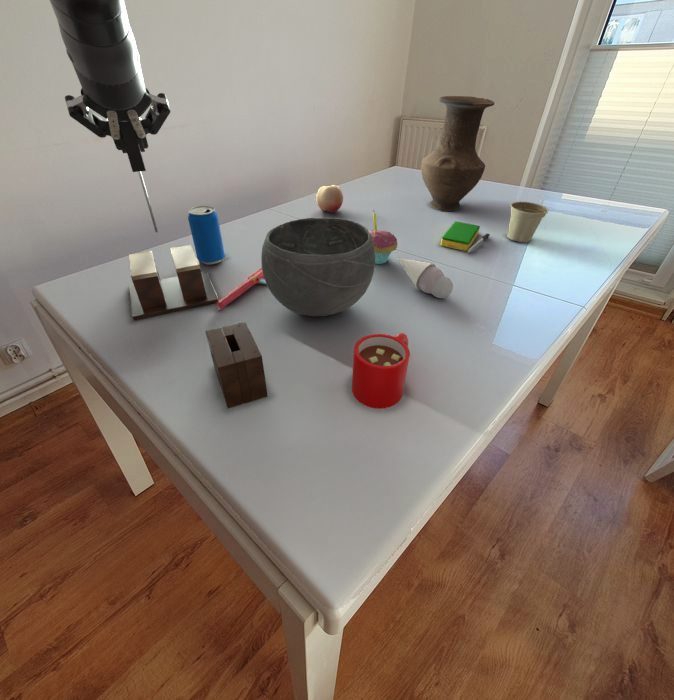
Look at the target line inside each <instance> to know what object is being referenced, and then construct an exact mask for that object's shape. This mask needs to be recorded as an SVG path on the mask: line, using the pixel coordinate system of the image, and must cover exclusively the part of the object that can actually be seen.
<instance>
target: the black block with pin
mask: <svg viewBox="0 0 674 700" xmlns="http://www.w3.org/2000/svg"><path fill="white" fill-rule="evenodd" d="M118 124H119V128H120V131H121V135H122V138H123V141H124V145H125V148H126V151H127V153H126V155H127V157H128V161H129V164H130V168H131V171H132V173H138V176H139V181H140V183H141V186H142V191H143V193H144V197H145V201H146V203H147V207H148V212H149V214H150V217H151V221H152V224H153V227H154V228H153V229H154V233H159V230H158V226H157V222H156V220H155V219H156V218H155V215H154V213H153V209H152V205H151V201H150V198H149V195H148V191H147V187H146V185H145V181H144V177H143V174H142V172H147V169H146V166H145V162H144V158H143V155H142V152H141V151H140V147H139V144H138V140H137V136H136V133H135V130H134V128H133V125H132V123H131V122H130V121H122V122H118Z"/></svg>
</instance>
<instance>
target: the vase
mask: <svg viewBox="0 0 674 700" xmlns="http://www.w3.org/2000/svg"><path fill="white" fill-rule="evenodd" d="M439 102H440V103H442V104H443V105H445V107H446V112H445V117H444V121H443V127H442V132H441V135H440V138H439V142H438V144H437V147H436V148H435V149H434V150H433V151H432V152H431V153H429V154H428V155H426V156H425V157H424V158H423V159H422V161H421V164H420V165H421V166H420V167H421V169H420V170H421V171H420V172H421V177H422V180H423V183H424V185H425V187H426V188H427V190H428V193H429V194H430V196H431V198H432V200H431V202H429V205H430V207H431V208H432V209H434V210H437V211H445V212H451V211H456V210H459V209H460V208H461V204H460V202H461V201H462V200H463V199H464V198H465V197H466V196H467V195H468V194H469V193H470V192H471V191H472V190H473V189H474V188H475V187H476V186H477V185H478V183H479V182H480V180H481V179H482V177H483V174H484V172H485V169H486V164H485V162H483V160H482V159H481V157H479V155H478V153H477V150H476V146H477V145H476V144H477V138H478V133H479V130H480V127H481V121H482V118H483V114H484V112H485V110H486V109H487V108H490V107H494V105H495V102H494V101H493V100H491V99H489V98H484V97H477V96H471V95H470V96H467V95H444V96H441V97H439Z"/></svg>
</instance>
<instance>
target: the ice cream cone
mask: <svg viewBox="0 0 674 700" xmlns="http://www.w3.org/2000/svg"><path fill="white" fill-rule="evenodd" d="M397 260H398V261H399V264H400V265H401V267H402V268H403V269H404V271H405V273H406V274H407V276H408V277H409V279H410V280H411V282H412V283H413V285H414V286H415V288H416V289H417V290H421V291H422V292H423V293H426V294H431V295H433V297H435V298H437V299H443V298H444V299H445V298H447V297H448V296H450V295H451V294H452V292H453V288H454V285H453V282H452V280H451V278H449V277H448V276H446V275H445V274H444V272H443V271H442V269H440V268H438V267H437V265H436V264H435V263H432V262H431V263H430V262H424V261H420V260H413V259H408V258H402V257H397Z"/></svg>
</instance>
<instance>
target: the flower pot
mask: <svg viewBox="0 0 674 700" xmlns="http://www.w3.org/2000/svg"><path fill="white" fill-rule="evenodd" d="M549 210H550V209H549V208H548V207H547V206H545V205H542V204H541V203H540V204H539V203H535V202H530V201H515V202H512V203H510V219H509V225H508V230H507V236H506V237H507V239H508V240H511V241H513V242H514V241H516V242H518V243H529V242H530V241H531V240H532V239H533V236H534V235H535V234H536V231H537V229H538V227H539V225H540V223H541V222H542V220H543V218H545V216H546V215H547V214H548V213H549Z"/></svg>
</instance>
